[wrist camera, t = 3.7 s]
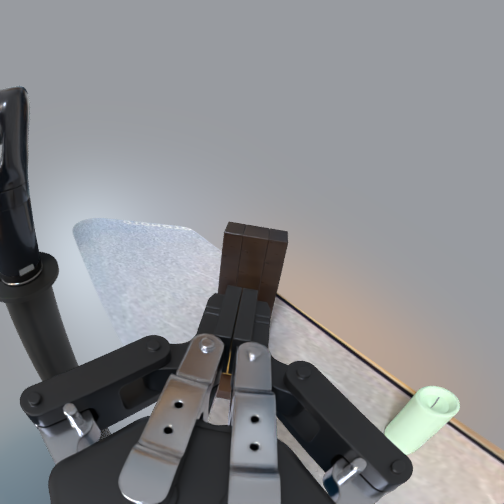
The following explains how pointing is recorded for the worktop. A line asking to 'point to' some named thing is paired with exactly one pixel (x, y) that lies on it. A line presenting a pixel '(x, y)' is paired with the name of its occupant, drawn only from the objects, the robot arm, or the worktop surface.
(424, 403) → the candle
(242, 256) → the latch
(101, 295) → the worktop surface
